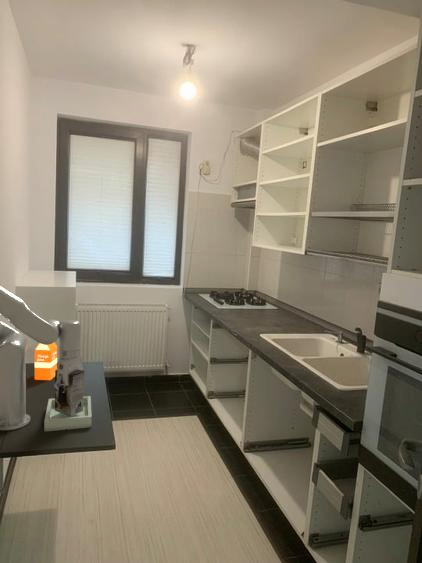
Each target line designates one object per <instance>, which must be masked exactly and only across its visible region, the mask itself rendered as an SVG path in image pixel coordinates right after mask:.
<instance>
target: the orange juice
mask: <svg viewBox="0 0 422 563" xmlns="http://www.w3.org/2000/svg"><path fill="white" fill-rule="evenodd" d="M38 343H39V342H38ZM57 367H58V345H57V344H56V341H55V342H54V343H52V344H50V345H44V344H41V343H39V344H37V346H36V348H35V349H34V380H35V381H36V380H37V381H51V380H53V378H55V370H57Z"/></svg>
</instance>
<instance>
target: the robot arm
mask: <svg viewBox="0 0 422 563" xmlns="http://www.w3.org/2000/svg"><path fill="white" fill-rule="evenodd" d="M0 316H1V317H2V318H4V319H5V320H7V321H8V322H9V323H10V324H11V325H12V326H14V327H15V328H16V329H17V330H19V331H20V332H21V333H20V332H19V331H17V330H16V329H14V328H13V327H11V326H9V325H8V324H6V323H5V322H3V321H1V320H0V431H13V430H17V429H21V428H23V427H26V426H27V425H28V424H29V423H30V422H31V416H30V414H27V413H26V412H27V411H26V409H27V408H26V407H27V404H26V403H27V400H26V399H27V396H26V395H27V394H26V391H27V390H26V387H27V379H26V368H27V367H26V354H27V350H28V345H29V343H28V339H27V337H29V338H30V339H31V340H33V341H35V342H36V343H41V344H44V345H50V344H52V343H54V342H55V343H56V342H57V341H58V342H59V344H58V360H57V381H56V382H55V381H54V384H53V387H54V389H55V388H56V390H57V392H58V402H61V403H66V399H67V392H66V386H69V375H70V374H71V373H73V372H76V371H78V370H82V371H84V370H83V369H84V368H83V360H82V355H81V333H82V332H81V329H82V328H81V327H82V326H81V322H80V321H79V320H76V319H65V320H61V319H51V318H49V319H43V318H41V317H39V316H38V315H37V314H36V313H34V312H33V311H32V309H31V310H30V308H29V307H28V305H27V303H26V302H25V301H24V300H23V298H21V297H20V296H18V295H16V294H14V293H13V292H11V291H9V289H7V288H6V287H4V286H2V285H1V284H0ZM25 335H26V336H27V337H25ZM58 339H59V340H58ZM62 382H63V383H64V384H62ZM62 386H64V388H62Z"/></svg>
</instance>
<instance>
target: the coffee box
mask: <svg viewBox="0 0 422 563" xmlns="http://www.w3.org/2000/svg"><path fill="white" fill-rule="evenodd" d="M56 381H57V370H55V376H54V383H55V382H56ZM62 384H64V383H63V382H62ZM84 387H85V370H83V371H82V370H78V371H76V372H73V373H71V374H70V375H69V386H66V392H67V399H66V403H61V402H58V392H57V390H56V388H55V387H54V398H55V411H57V412H60V413H63V414H66V415H68V416H73V415H75V414H78V413H80V412H82V411H83V397H84V389H85V388H84ZM62 388H64V386H62Z"/></svg>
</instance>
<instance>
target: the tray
mask: <svg viewBox="0 0 422 563" xmlns="http://www.w3.org/2000/svg"><path fill="white" fill-rule="evenodd" d="M92 417H93V416H92V398H91V395H88V396H87V395H86V396H84V395H83V411H82V412H80V413H78V414H75V415H73V416H68V415H66V414H63V413H60V412H57V411H55V397H54V398H48V402H47V405H46V412H45V417H44V422H43V423H44V428H43V430H44V432H53V431H64V430H66V429H67V430H74V429H75V430H76V429H86V428H92V421H93V420H92V419H93V418H92Z"/></svg>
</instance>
